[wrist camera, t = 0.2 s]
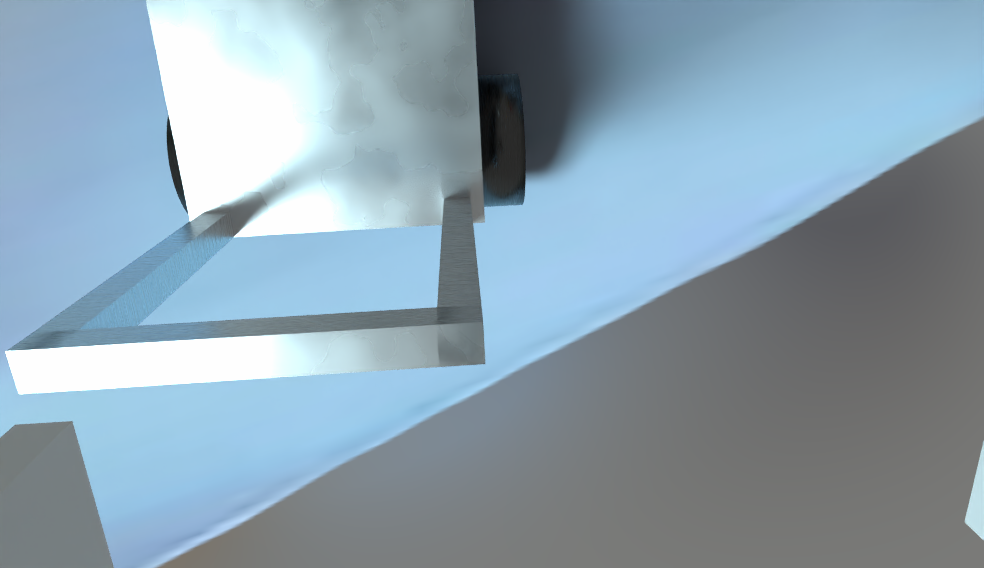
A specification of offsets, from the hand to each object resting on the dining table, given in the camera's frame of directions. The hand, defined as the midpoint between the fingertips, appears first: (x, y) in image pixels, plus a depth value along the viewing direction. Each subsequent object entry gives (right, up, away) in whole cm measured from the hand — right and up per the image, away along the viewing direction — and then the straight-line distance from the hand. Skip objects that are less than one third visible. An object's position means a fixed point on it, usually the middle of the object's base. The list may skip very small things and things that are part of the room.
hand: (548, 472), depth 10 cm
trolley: (-7, +15, +23) cm, 29 cm away
